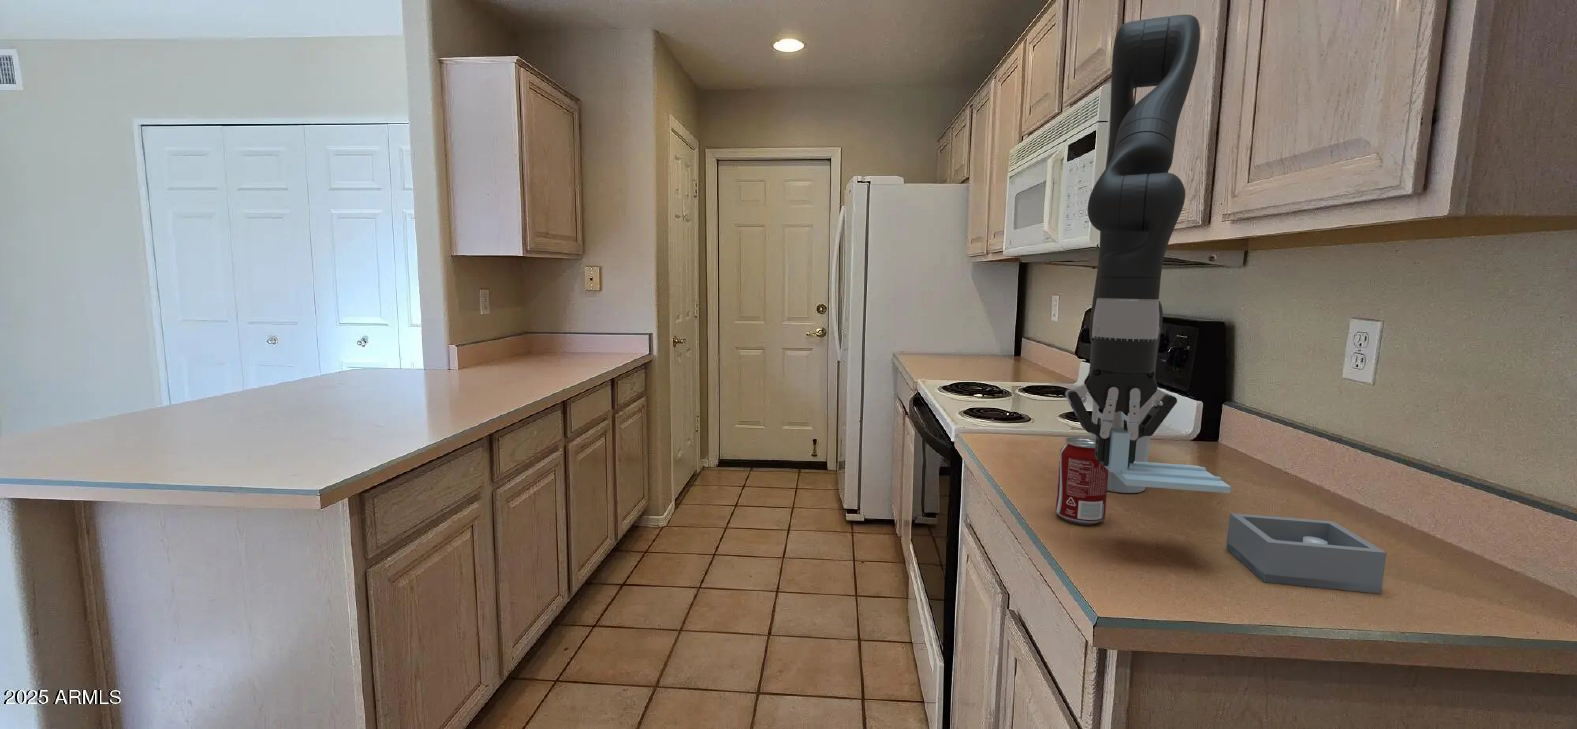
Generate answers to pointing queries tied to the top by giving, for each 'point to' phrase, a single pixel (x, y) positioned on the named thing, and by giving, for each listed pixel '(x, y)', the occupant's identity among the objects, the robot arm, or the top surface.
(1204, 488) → the lid
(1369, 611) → the top surface
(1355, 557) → the grey shallow tray
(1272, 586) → the top surface
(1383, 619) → the top surface
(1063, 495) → the soda can
